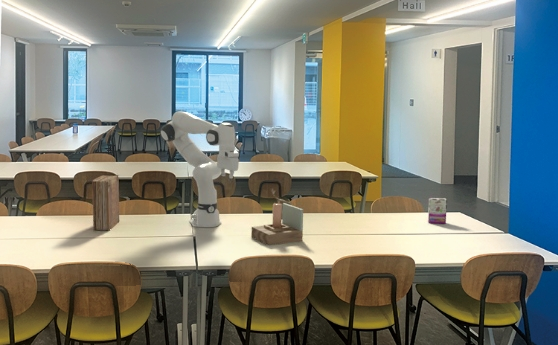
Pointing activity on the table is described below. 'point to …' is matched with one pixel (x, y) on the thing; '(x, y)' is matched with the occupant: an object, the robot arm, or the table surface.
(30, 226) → the table surface
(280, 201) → the brown figurine
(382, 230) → the table surface
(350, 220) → the table surface
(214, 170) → the robot arm
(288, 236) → the display plinth
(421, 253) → the table surface
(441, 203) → the candy bar box
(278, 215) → the light brown tall block
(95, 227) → the book
